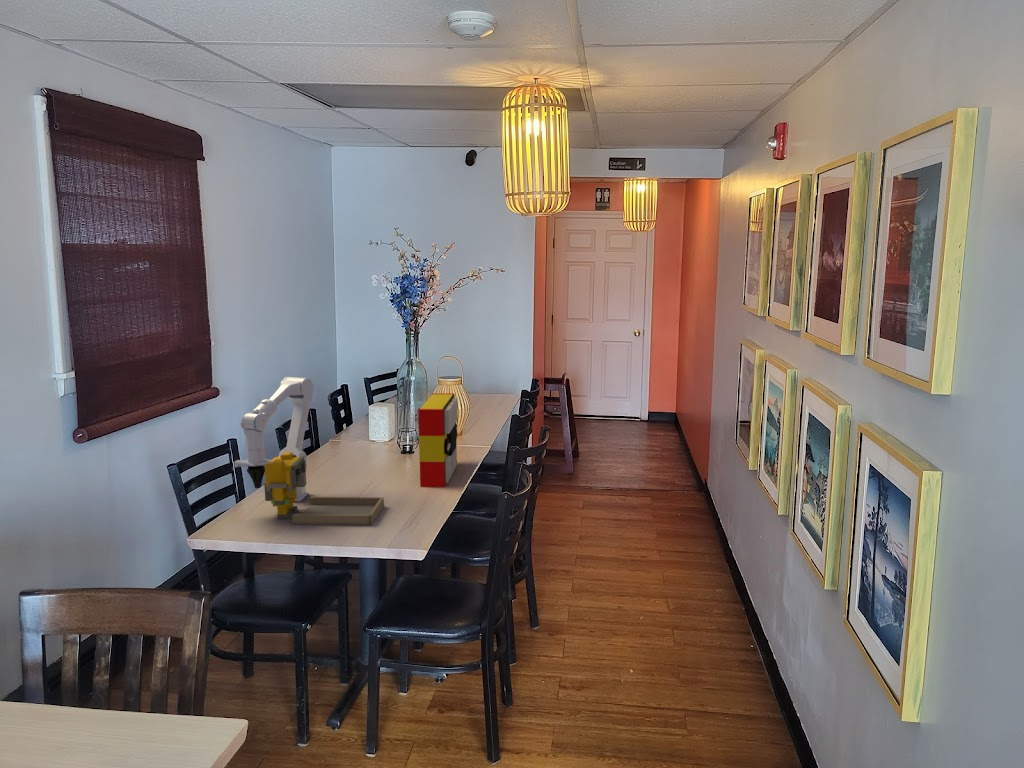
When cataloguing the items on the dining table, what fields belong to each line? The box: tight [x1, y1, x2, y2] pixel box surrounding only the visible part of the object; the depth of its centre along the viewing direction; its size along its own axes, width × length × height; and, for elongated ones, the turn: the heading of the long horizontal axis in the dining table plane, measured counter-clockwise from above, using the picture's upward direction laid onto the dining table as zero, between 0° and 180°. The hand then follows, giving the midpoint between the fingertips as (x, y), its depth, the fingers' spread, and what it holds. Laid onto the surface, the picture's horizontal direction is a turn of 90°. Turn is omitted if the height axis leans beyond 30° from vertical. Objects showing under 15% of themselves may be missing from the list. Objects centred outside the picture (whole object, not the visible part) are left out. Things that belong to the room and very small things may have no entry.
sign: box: [417, 392, 459, 488], centre depth 305 cm, size 33×11×30 cm, turn 176°
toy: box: [263, 452, 307, 520], centre depth 261 cm, size 14×13×20 cm
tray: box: [292, 496, 385, 526], centre depth 261 cm, size 19×26×3 cm
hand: (258, 487), depth 262 cm, fingers closed
